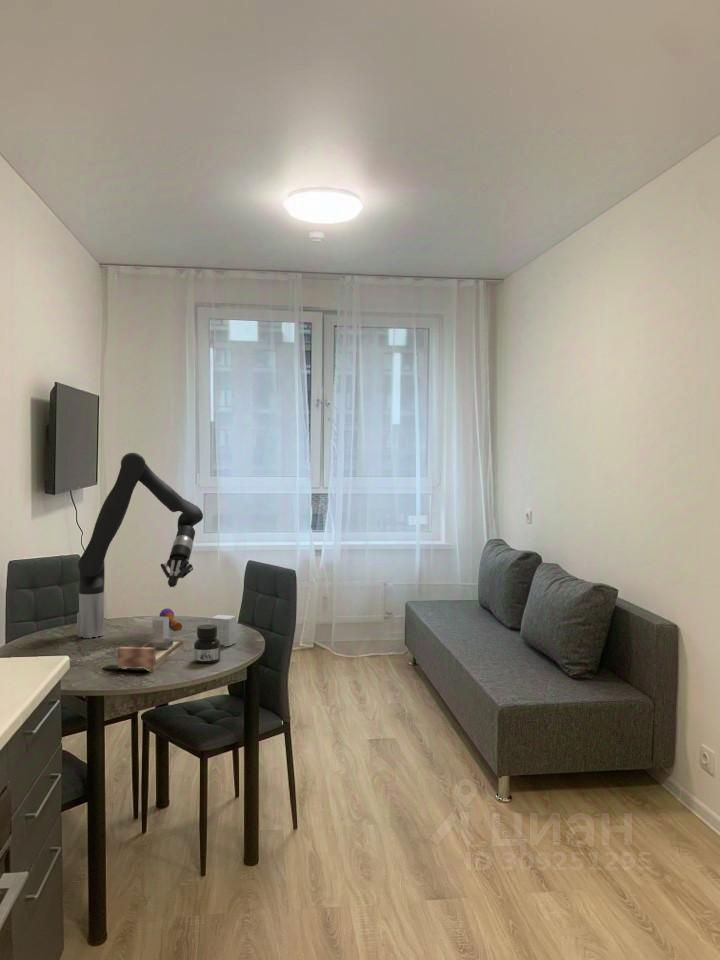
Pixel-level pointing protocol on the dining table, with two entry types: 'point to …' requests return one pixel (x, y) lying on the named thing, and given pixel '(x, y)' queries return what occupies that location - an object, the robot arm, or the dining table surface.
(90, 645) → the dining table surface
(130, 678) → the dining table surface
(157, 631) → the block
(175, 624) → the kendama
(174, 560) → the robot arm
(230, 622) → the small box
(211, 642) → the ink bottle
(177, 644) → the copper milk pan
